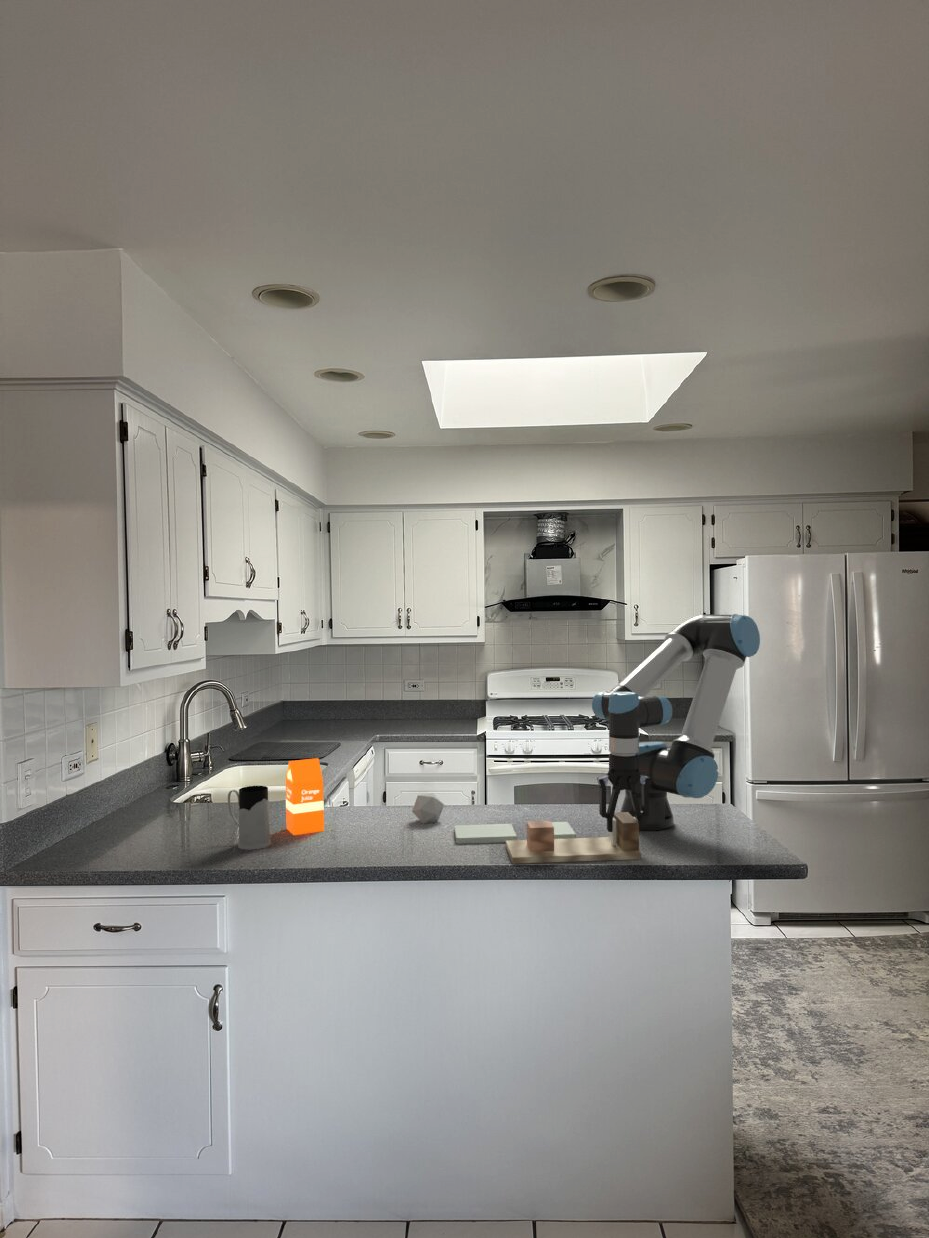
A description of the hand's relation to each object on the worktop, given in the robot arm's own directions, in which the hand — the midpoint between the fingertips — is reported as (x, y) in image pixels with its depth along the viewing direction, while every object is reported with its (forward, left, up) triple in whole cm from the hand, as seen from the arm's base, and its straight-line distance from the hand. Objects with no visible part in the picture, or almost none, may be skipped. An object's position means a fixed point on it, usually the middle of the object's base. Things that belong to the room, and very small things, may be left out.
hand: (624, 843), depth 209 cm
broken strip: (+26, -17, -2) cm, 31 cm away
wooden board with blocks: (+14, 0, -2) cm, 14 cm away
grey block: (+49, -34, -2) cm, 60 cm away
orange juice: (+84, -29, -2) cm, 89 cm away
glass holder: (+98, -18, -2) cm, 100 cm away
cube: (+22, 0, 0) cm, 22 cm away
